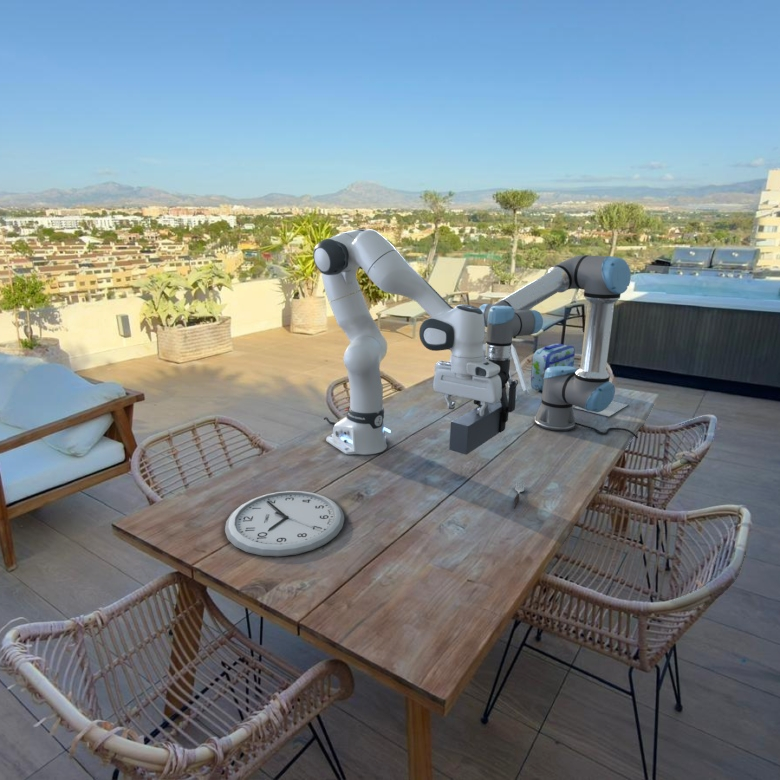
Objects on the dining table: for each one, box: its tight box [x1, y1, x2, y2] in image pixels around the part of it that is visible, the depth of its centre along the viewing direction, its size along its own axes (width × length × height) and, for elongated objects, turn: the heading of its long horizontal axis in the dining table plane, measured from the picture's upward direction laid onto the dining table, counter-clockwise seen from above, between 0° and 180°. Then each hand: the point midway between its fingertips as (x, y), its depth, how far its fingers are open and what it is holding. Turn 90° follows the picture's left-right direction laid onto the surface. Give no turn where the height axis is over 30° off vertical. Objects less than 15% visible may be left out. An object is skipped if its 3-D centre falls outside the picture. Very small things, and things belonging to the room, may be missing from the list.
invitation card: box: [573, 400, 629, 418], centre depth 226 cm, size 21×1×15 cm
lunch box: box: [530, 343, 576, 391], centre depth 249 cm, size 26×11×21 cm, turn 134°
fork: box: [513, 478, 526, 510], centre depth 148 cm, size 3×16×2 cm, turn 160°
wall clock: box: [224, 490, 345, 557], centre depth 134 cm, size 30×2×30 cm
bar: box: [448, 400, 507, 456], centre depth 157 cm, size 26×6×9 cm, turn 143°
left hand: (465, 411), depth 148 cm, fingers open, 8 cm apart
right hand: (492, 428), depth 166 cm, fingers closed on bar, 6 cm apart
